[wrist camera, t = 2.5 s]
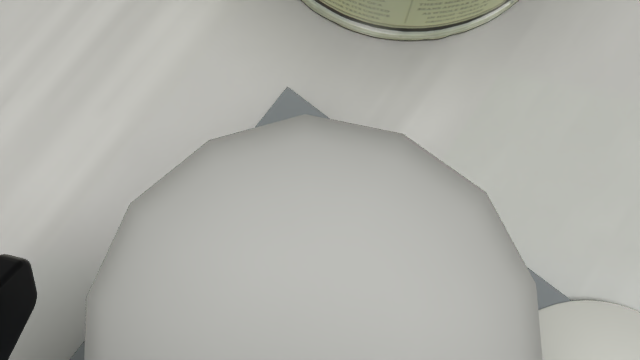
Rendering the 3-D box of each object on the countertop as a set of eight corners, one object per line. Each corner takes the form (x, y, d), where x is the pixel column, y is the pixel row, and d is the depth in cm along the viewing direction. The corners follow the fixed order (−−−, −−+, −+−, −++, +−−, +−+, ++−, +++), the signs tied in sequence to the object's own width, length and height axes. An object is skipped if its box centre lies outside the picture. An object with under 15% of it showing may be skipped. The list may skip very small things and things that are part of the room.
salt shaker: (310, 426, 17) (250, 951, 4) (185, 271, 18) (-202, 317, 5) (463, 292, 18) (834, 398, 5) (336, 145, 18) (351, -125, 5)
